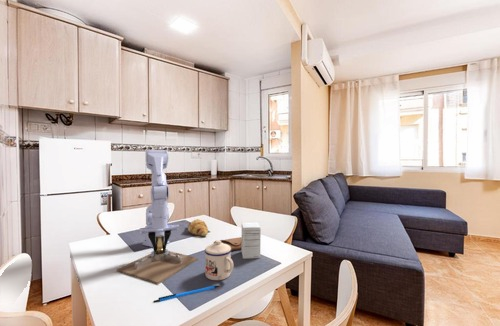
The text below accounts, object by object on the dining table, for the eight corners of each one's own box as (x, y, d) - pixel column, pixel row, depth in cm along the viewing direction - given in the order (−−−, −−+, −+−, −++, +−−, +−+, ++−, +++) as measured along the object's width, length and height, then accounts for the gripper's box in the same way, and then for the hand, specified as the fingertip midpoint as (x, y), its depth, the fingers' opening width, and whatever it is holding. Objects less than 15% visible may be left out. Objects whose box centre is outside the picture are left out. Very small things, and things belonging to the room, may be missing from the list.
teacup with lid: (199, 274, 79) (199, 240, 79) (219, 265, 86) (220, 234, 85) (221, 288, 71) (221, 250, 70) (242, 277, 77) (242, 242, 77)
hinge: (129, 267, 83) (129, 261, 83) (160, 252, 95) (160, 247, 95) (158, 275, 77) (158, 269, 77) (187, 259, 89) (187, 253, 89)
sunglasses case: (219, 254, 95) (216, 238, 98) (214, 258, 100) (212, 242, 103) (257, 247, 103) (253, 232, 106) (251, 250, 108) (247, 236, 111)
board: (116, 270, 81) (116, 269, 81) (160, 250, 99) (160, 249, 99) (158, 284, 73) (158, 282, 73) (197, 259, 91) (197, 257, 91)
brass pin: (154, 254, 90) (154, 237, 90) (160, 252, 93) (160, 234, 93) (159, 256, 89) (159, 238, 89) (165, 253, 92) (165, 236, 92)
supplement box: (241, 251, 99) (241, 222, 99) (258, 250, 99) (258, 221, 99) (242, 259, 91) (242, 227, 91) (260, 258, 92) (260, 227, 92)
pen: (153, 302, 64) (153, 298, 64) (219, 286, 72) (219, 283, 72) (153, 304, 63) (153, 299, 63) (220, 288, 71) (220, 284, 71)
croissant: (210, 243, 118) (217, 228, 120) (194, 237, 113) (201, 222, 114) (194, 231, 135) (200, 218, 137) (179, 226, 130) (186, 213, 132)
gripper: (138, 220, 85) (138, 256, 85) (179, 216, 90) (179, 251, 90) (140, 215, 91) (140, 249, 92) (178, 212, 96) (178, 245, 97)
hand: (159, 250), depth 91 cm, fingers closed on brass pin, 3 cm apart
